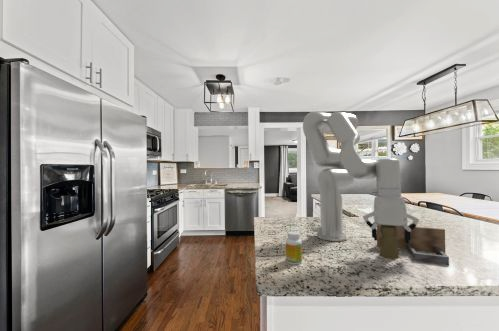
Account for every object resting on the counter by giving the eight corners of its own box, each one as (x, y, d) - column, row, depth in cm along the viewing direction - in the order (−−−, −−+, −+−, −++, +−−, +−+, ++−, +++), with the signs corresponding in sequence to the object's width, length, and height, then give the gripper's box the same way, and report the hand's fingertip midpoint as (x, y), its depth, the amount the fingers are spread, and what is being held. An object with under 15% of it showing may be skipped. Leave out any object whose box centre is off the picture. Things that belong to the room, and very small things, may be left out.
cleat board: (379, 256, 85) (379, 230, 85) (376, 245, 97) (376, 223, 97) (457, 266, 76) (457, 237, 76) (444, 253, 88) (443, 228, 88)
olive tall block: (401, 259, 81) (401, 227, 82) (382, 258, 83) (382, 226, 83) (394, 253, 87) (394, 223, 88) (377, 252, 89) (376, 223, 89)
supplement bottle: (298, 266, 76) (298, 236, 76) (283, 262, 79) (283, 233, 79) (304, 260, 81) (303, 232, 81) (289, 257, 84) (289, 230, 84)
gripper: (362, 193, 85) (364, 241, 85) (420, 194, 78) (422, 246, 78) (361, 191, 92) (363, 236, 91) (414, 192, 85) (417, 240, 84)
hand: (390, 241), depth 84 cm, fingers open, 9 cm apart
